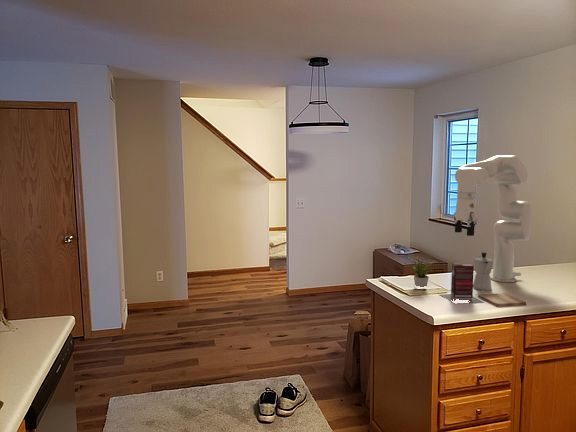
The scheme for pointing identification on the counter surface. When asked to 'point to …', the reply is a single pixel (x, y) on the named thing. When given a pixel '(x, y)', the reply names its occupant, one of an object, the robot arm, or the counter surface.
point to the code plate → (448, 296)
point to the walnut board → (501, 299)
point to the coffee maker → (482, 273)
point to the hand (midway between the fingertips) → (464, 233)
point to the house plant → (421, 273)
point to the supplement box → (462, 281)
